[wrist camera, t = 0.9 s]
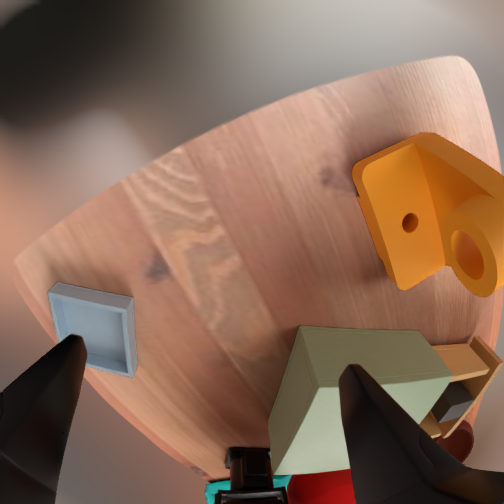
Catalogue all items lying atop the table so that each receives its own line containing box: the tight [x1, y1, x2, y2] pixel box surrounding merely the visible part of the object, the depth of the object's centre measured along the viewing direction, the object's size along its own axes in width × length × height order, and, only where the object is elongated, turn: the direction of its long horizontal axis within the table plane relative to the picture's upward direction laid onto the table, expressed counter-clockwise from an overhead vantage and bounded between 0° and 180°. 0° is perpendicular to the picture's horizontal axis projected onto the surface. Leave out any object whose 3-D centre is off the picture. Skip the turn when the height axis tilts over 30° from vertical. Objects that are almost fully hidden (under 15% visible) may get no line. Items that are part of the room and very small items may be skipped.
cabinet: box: [267, 326, 454, 475], centre depth 24 cm, size 14×15×8 cm
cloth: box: [205, 475, 292, 504], centre depth 37 cm, size 26×14×2 cm, turn 132°
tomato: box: [287, 469, 356, 504], centre depth 28 cm, size 13×13×13 cm
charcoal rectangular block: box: [431, 380, 474, 423], centre depth 25 cm, size 3×4×5 cm, turn 81°
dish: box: [48, 282, 138, 378], centre depth 23 cm, size 8×8×2 cm
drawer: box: [419, 336, 503, 438], centre depth 26 cm, size 16×13×6 cm
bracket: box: [352, 133, 504, 297], centre depth 16 cm, size 11×7×12 cm, turn 28°
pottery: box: [433, 420, 474, 463], centre depth 34 cm, size 12×20×4 cm
